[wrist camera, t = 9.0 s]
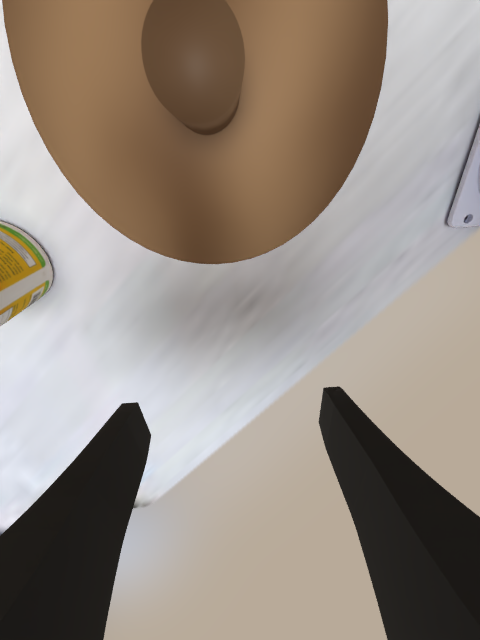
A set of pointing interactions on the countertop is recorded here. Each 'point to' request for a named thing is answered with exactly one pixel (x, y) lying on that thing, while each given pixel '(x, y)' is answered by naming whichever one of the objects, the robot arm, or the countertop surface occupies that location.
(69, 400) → the countertop surface
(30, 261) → the supplement bottle
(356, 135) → the lid
